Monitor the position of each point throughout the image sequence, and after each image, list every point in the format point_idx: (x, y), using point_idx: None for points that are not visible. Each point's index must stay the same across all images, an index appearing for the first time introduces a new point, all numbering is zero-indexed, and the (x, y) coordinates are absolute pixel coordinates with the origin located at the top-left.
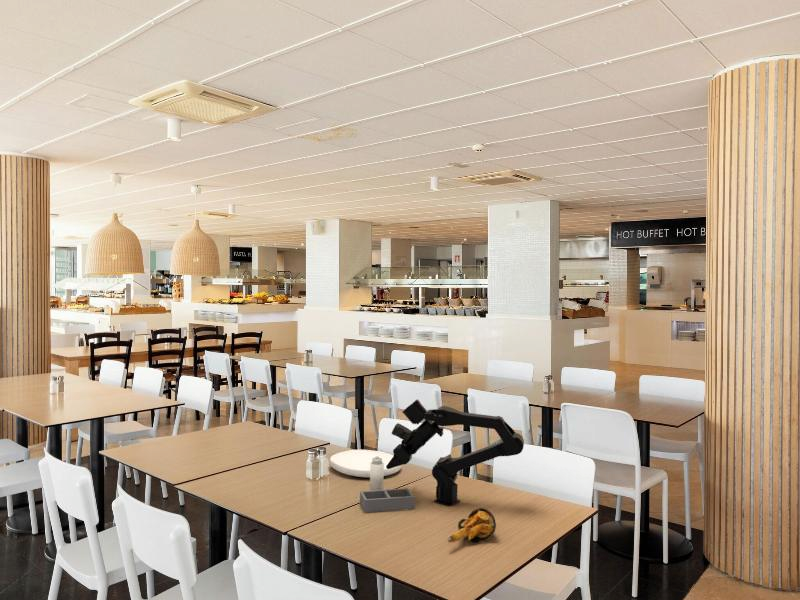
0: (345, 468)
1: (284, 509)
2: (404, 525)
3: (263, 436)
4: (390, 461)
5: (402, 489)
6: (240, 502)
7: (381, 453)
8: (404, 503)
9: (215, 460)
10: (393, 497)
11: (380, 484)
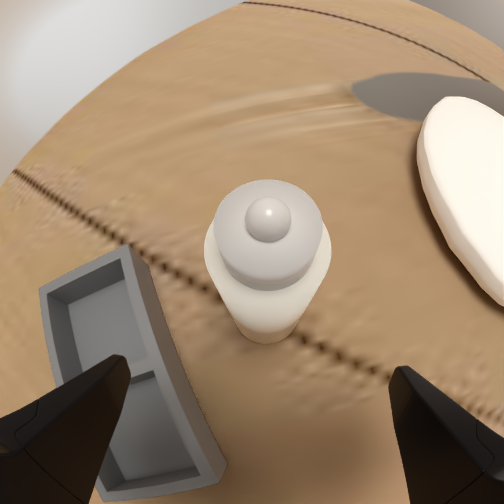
0: (423, 134)
1: (111, 109)
2: None
3: (485, 51)
4: (52, 396)
5: (191, 457)
6: (159, 52)
7: None
8: None
9: (360, 8)
10: None
11: (238, 324)
